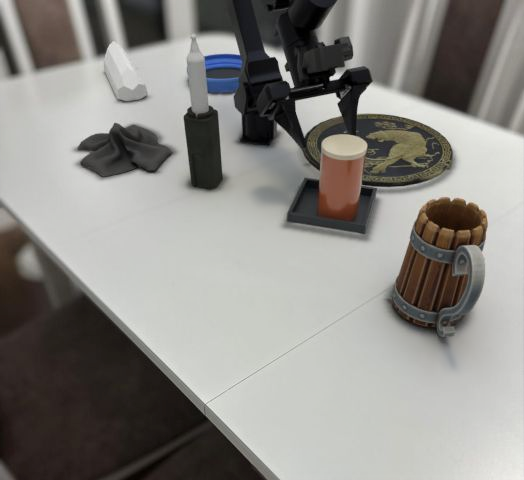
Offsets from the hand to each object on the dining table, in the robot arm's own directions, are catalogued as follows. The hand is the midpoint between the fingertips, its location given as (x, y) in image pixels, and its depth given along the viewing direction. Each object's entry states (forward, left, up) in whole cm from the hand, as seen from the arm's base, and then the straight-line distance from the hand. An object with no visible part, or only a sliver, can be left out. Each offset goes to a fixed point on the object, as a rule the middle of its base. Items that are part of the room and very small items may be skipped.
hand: (329, 142), depth 86 cm
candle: (-23, +2, -11) cm, 26 cm away
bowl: (-37, +50, -11) cm, 63 cm away
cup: (+3, -3, -10) cm, 11 cm away
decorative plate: (+6, +22, -11) cm, 25 cm away
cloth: (-44, +9, -11) cm, 46 cm away
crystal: (-60, +41, -11) cm, 73 cm away
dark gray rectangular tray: (+2, -2, -11) cm, 12 cm away
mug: (+21, -24, -11) cm, 34 cm away
